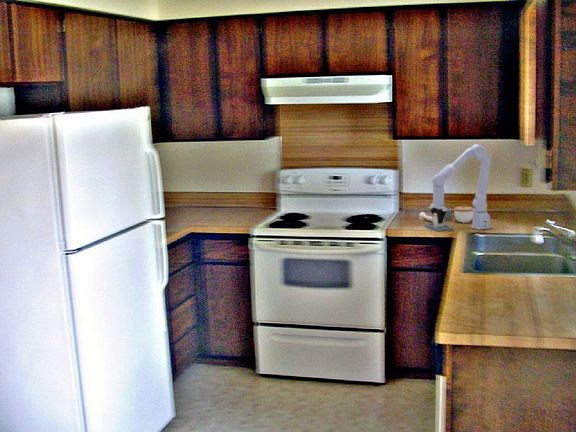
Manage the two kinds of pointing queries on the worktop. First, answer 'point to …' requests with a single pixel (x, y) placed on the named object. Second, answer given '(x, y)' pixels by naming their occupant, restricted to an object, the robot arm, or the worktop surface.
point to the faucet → (423, 216)
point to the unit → (448, 215)
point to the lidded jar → (463, 214)
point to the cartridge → (435, 221)
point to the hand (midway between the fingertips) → (438, 222)
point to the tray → (445, 228)
